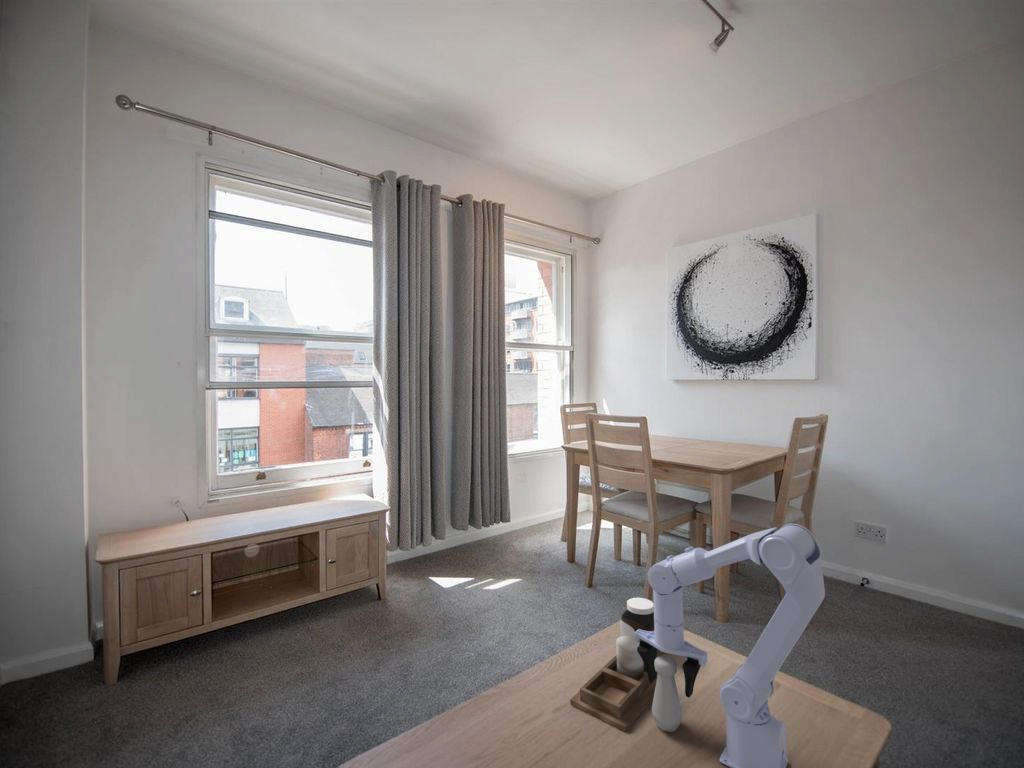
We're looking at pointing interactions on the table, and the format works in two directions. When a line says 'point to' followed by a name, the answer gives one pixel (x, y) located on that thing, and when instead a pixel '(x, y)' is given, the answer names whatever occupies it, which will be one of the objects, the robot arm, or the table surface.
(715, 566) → the robot arm
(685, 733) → the table surface
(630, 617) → the spread jar
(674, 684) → the salt shaker
